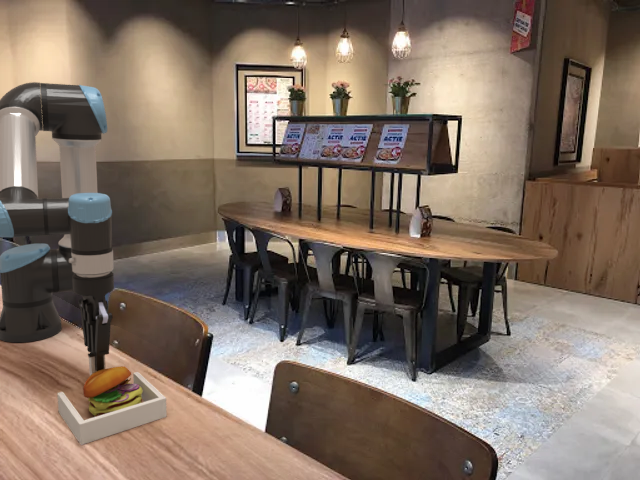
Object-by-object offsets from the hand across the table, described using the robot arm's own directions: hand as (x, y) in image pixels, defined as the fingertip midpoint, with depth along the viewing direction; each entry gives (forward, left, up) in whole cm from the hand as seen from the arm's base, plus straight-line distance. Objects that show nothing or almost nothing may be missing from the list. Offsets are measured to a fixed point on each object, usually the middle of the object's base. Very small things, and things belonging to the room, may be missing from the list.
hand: (98, 382), depth 109 cm
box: (+7, +4, -3) cm, 8 cm away
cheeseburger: (+6, +4, -4) cm, 8 cm away
